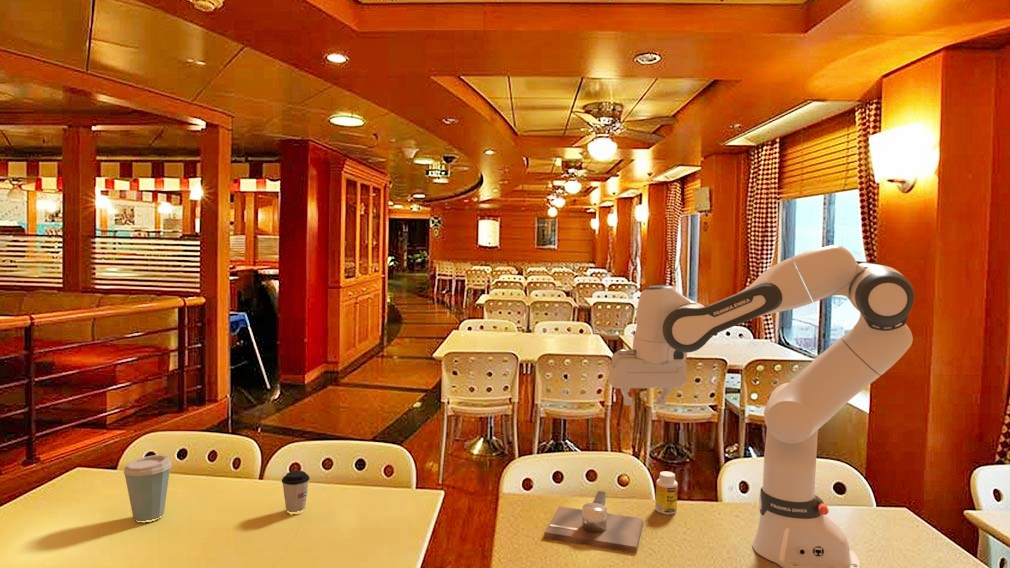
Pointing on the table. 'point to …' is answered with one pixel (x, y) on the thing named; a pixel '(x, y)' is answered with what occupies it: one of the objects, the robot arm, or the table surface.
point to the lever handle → (595, 514)
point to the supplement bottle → (666, 493)
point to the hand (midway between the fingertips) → (644, 404)
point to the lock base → (616, 536)
